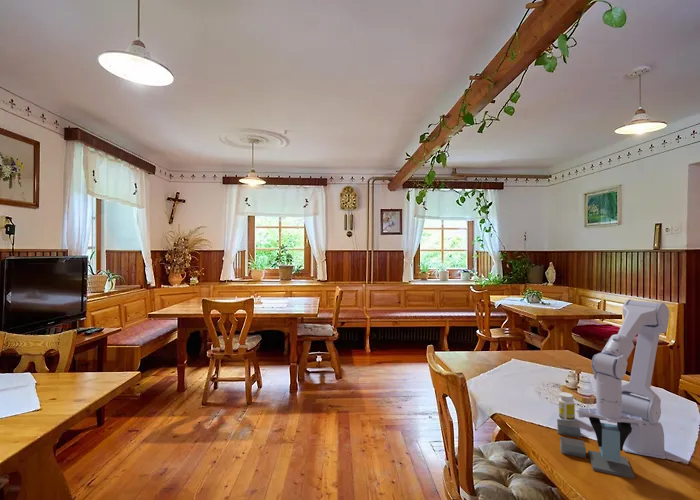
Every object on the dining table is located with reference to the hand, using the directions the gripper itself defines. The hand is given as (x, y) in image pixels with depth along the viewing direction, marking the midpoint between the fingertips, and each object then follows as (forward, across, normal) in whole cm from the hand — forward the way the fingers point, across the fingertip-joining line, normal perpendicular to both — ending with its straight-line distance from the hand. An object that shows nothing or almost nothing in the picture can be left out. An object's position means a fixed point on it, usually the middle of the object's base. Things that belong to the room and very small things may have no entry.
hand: (609, 446), depth 99 cm
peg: (+2, 0, 0) cm, 2 cm away
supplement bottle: (+5, -8, +26) cm, 28 cm away
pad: (+5, 0, 0) cm, 5 cm away
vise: (+5, -8, +10) cm, 14 cm away
